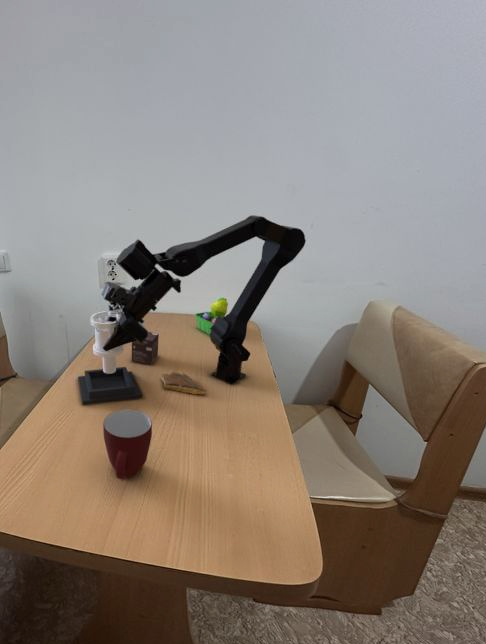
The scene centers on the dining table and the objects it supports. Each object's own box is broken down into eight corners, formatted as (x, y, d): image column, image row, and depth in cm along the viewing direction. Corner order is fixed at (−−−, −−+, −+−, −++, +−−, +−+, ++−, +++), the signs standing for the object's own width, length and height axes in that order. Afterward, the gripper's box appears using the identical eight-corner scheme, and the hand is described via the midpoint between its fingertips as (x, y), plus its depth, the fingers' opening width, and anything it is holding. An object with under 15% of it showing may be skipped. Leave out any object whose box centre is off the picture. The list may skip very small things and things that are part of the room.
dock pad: (131, 374, 98) (131, 364, 97) (142, 398, 87) (142, 387, 86) (78, 379, 95) (77, 370, 94) (82, 405, 84) (81, 394, 83)
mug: (150, 499, 59) (152, 449, 55) (100, 497, 60) (98, 447, 56) (150, 454, 69) (152, 409, 65) (107, 453, 69) (106, 408, 65)
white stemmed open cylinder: (128, 374, 87) (126, 315, 80) (100, 381, 85) (95, 321, 78) (118, 360, 93) (115, 304, 86) (91, 366, 91) (86, 309, 84)
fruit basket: (192, 327, 129) (194, 296, 124) (213, 323, 132) (216, 292, 127) (212, 339, 119) (215, 305, 114) (234, 334, 123) (238, 301, 118)
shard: (205, 396, 88) (206, 389, 87) (177, 403, 85) (177, 396, 84) (182, 376, 97) (182, 369, 96) (155, 381, 94) (156, 375, 93)
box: (131, 361, 105) (130, 337, 102) (138, 353, 110) (138, 330, 107) (151, 365, 103) (152, 340, 99) (158, 356, 108) (159, 333, 105)
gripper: (116, 261, 88) (72, 309, 91) (131, 279, 71) (78, 337, 74) (148, 291, 93) (106, 336, 95) (170, 315, 76) (118, 368, 79)
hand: (102, 343), depth 86 cm, fingers closed on white stemmed open cylinder, 7 cm apart
